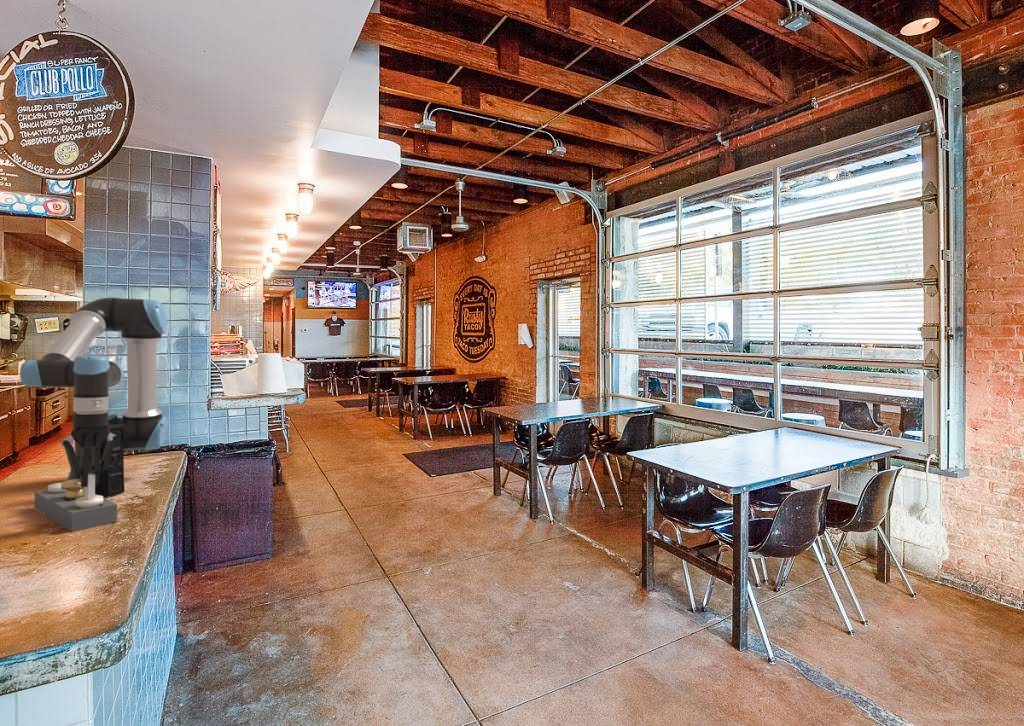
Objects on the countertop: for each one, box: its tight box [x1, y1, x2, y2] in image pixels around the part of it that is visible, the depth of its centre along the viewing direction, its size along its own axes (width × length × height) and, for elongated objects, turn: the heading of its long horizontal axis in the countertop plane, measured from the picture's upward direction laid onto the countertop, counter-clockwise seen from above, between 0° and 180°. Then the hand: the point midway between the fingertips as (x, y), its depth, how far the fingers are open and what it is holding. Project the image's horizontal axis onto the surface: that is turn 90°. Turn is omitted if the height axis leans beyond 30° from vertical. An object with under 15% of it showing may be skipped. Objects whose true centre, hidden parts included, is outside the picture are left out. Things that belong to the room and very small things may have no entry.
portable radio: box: [95, 417, 125, 498], centre depth 169 cm, size 8×6×25 cm
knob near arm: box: [47, 482, 66, 501], centre depth 157 cm, size 6×6×6 cm
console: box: [34, 487, 118, 532], centre depth 151 cm, size 10×30×5 cm, turn 56°
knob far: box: [75, 495, 103, 510], centre depth 145 cm, size 6×6×6 cm
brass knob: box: [60, 479, 85, 501], centre depth 150 cm, size 6×6×6 cm
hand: (89, 497), depth 144 cm, fingers closed
